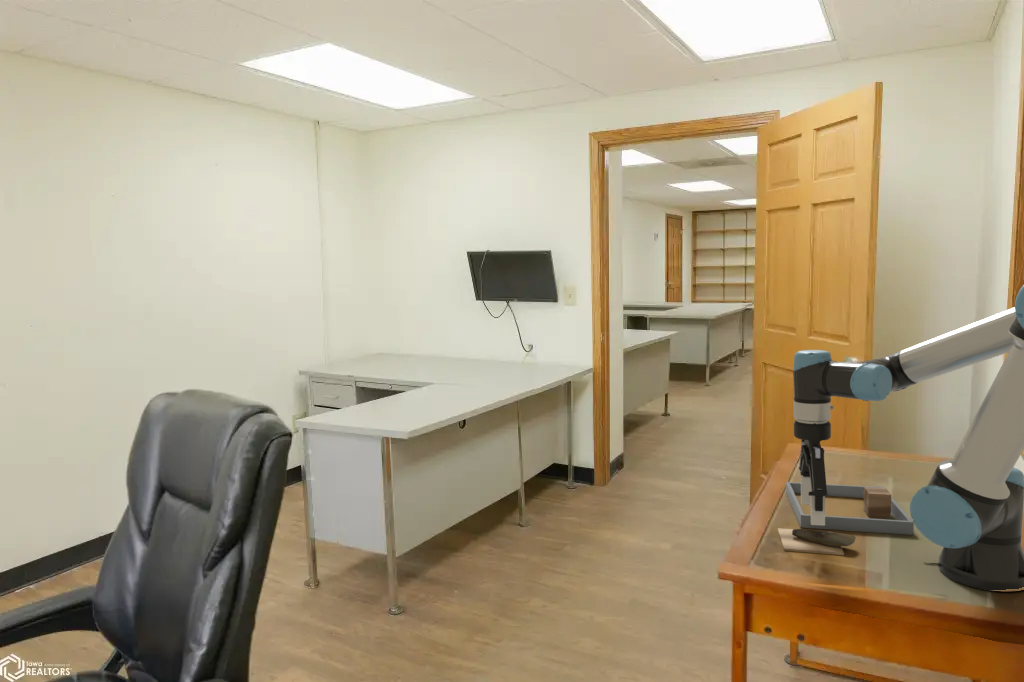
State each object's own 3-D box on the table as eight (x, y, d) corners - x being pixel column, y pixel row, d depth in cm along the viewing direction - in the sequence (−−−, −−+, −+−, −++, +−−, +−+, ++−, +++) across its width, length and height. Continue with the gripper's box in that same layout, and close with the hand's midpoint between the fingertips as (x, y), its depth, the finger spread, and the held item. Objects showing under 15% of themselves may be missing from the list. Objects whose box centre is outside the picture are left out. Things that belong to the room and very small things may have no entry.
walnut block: (890, 518, 167) (891, 494, 166) (868, 517, 168) (868, 493, 168) (885, 511, 172) (885, 488, 171) (863, 510, 173) (864, 487, 172)
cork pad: (844, 555, 146) (844, 552, 146) (784, 550, 149) (784, 548, 149) (832, 534, 158) (832, 532, 158) (777, 530, 161) (777, 528, 161)
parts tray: (913, 535, 156) (913, 522, 156) (800, 527, 162) (800, 515, 162) (882, 498, 181) (882, 487, 181) (786, 492, 187) (786, 481, 187)
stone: (856, 543, 150) (856, 534, 150) (853, 552, 146) (853, 542, 146) (793, 533, 157) (793, 523, 157) (789, 541, 153) (789, 531, 153)
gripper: (842, 432, 138) (842, 535, 139) (820, 410, 162) (820, 497, 163) (802, 432, 140) (803, 533, 141) (786, 409, 164) (786, 496, 165)
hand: (812, 514), depth 152 cm, fingers open, 13 cm apart
